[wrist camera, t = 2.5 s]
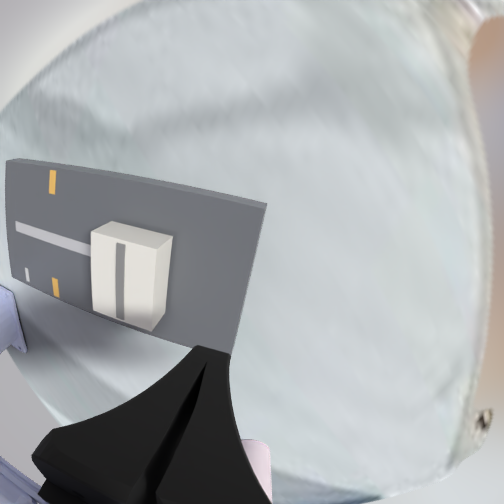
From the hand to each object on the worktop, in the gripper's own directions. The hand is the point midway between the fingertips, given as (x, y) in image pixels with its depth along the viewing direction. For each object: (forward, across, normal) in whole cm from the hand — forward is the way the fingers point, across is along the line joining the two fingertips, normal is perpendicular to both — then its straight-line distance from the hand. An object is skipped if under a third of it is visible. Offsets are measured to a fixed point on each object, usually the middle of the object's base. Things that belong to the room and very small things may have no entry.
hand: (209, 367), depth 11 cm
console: (+8, +10, 0) cm, 12 cm away
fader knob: (+6, +6, 0) cm, 9 cm away
